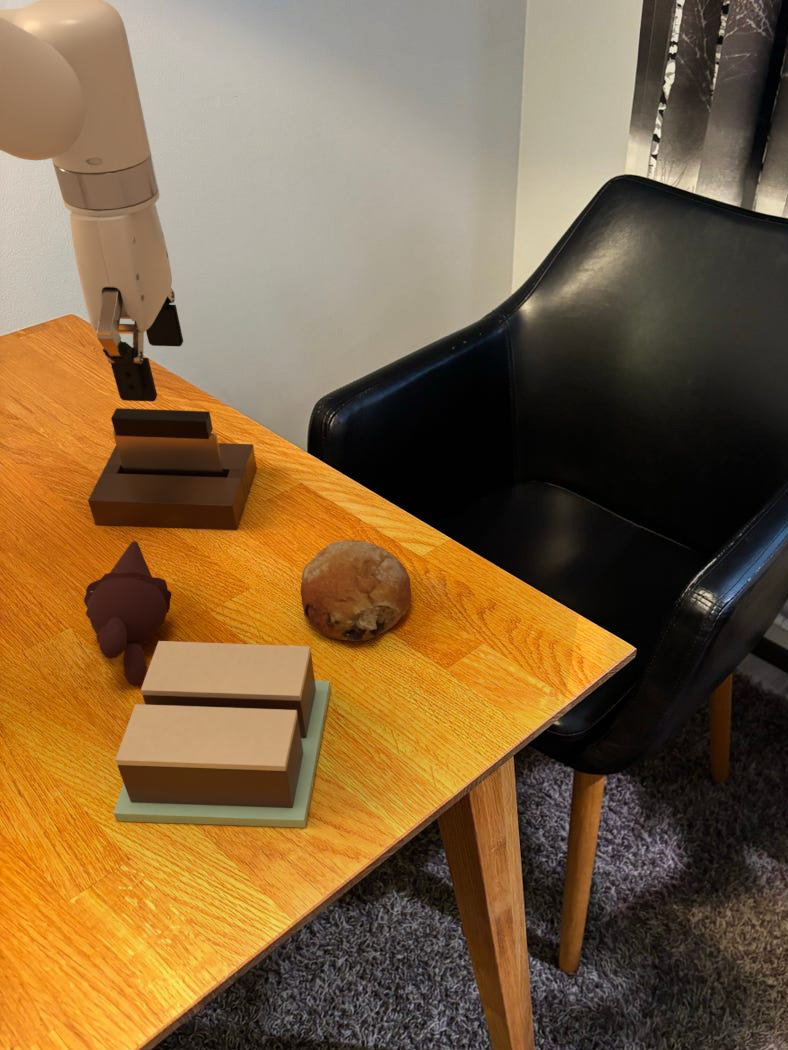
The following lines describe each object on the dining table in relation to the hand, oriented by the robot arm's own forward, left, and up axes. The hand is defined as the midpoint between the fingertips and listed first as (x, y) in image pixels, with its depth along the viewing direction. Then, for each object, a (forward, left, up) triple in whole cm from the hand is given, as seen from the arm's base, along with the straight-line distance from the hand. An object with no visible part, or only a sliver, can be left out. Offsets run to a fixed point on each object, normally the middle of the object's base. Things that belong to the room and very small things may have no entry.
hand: (153, 370), depth 93 cm
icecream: (+1, -20, -14) cm, 25 cm away
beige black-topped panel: (0, 0, -14) cm, 14 cm away
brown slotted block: (0, 0, -14) cm, 14 cm away
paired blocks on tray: (+12, -33, -14) cm, 38 cm away
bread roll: (+20, -16, -14) cm, 29 cm away
